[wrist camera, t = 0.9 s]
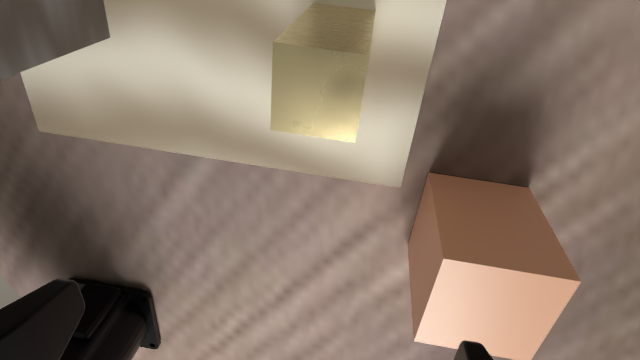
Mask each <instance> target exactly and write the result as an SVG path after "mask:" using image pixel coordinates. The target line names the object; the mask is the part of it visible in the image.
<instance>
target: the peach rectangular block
mask: <svg viewBox="0 0 640 360" xmlns="http://www.w3.org/2000/svg"><path fill="white" fill-rule="evenodd" d="M408 258H409V274H410V289H411V304H412V319H413V334H414V341H416V342H421V343H427V344H432V345H438V346H443V347H449V348H454V349H458V348H459V345H460V343H461V342H462V341H463V340H466V341H473V342H479V343H481V344H482V345H483V346H484V347H485V348H486V350H487V351H488V353H489V354H490V355H492V356H498V357H503V358H509V359H514V360H531V359H532V357H533V356H534V354H535V353H536V351H537V350H538V348H539V347H540V345H541V343H542V342H543V340H544V339H545V337H546V336H547V334H548V332H549V331H550V329H551V328H552V326H553V325H554V323H555V322H556V320H557V318H558V317H559V315H560V314H561V312H562V311H563V309H564V307H565V306H566V304H567V303H568V301H569V300H570V298H571V297H572V295H573V293H574V292H575V290H576V289H577V287H578V286H579V284H580V283H581V281H580V279H579V277H578V275H577V273H576V272H575V270H574V268H573V266H572V264H571V263H570V261H569V259H568V257H567V255H566V254H565V252H564V250H563V248H562V246H561V245H560V243H559V241H558V239H557V237H556V236H555V234H554V232H553V230H552V228H551V227H550V225H549V223H548V221H547V219H546V218H545V216H544V214H543V212H542V210H541V209H540V207H539V205H538V203H537V201H536V200H535V198H534V196H533V194H532V192H531V190H530V189H529V188H527V187H520V186H514V185H507V184H501V183H494V182H488V181H481V180H475V179H468V178H461V177H455V176H448V175H442V174H435V173H428V176H427V180H426V183H425V187H424V190H423V194H422V197H421V201H420V204H419V208H418V211H417V215H416V219H415V222H414V226H413V229H412V233H411V236H410V240H409V243H408Z"/></svg>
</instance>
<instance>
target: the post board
mask: <svg viewBox="0 0 640 360" xmlns="http://www.w3.org/2000/svg"><path fill="white" fill-rule="evenodd" d="M446 1H447V0H0V80H1V79H4V78H7V77H9V76H12V75H14V74H17V73H21V76H22V79H23V83H24V86H25V89H26V92H27V95H28V98H29V102H30V105H31V108H32V111H33V114H34V117H35V120H36V124H37V127H38V130H39V131H40V132H47V133H53V134H59V135H66V136H72V137H79V138H85V139H91V140H98V141H104V142H110V143H117V144H123V145H130V146H136V147H142V148H149V149H155V150H161V151H168V152H174V153H181V154H187V155H193V156H200V157H206V158H212V159H219V160H225V161H232V162H238V163H244V164H251V165H257V166H263V167H270V168H276V169H283V170H289V171H295V172H302V173H308V174H314V175H321V176H327V177H334V178H340V179H346V180H353V181H359V182H366V183H372V184H378V185H385V186H391V187H397V188H401V184H402V179H403V175H404V171H405V167H406V163H407V159H408V155H409V151H410V147H411V143H412V139H413V135H414V131H415V127H416V123H417V119H418V114H419V110H420V106H421V102H422V98H423V94H424V90H425V86H426V82H427V78H428V74H429V70H430V66H431V62H432V58H433V53H434V49H435V45H436V41H437V37H438V33H439V29H440V25H441V21H442V17H443V13H444V9H445V5H446ZM313 3H319V4H327V5H335V6H343V7H351V8H359V9H367V10H375V11H376V13H375V20H374V27H373V34H372V41H371V48H370V55H369V62H368V68H367V74H366V80H365V86H364V93H363V99H362V105H361V111H360V118H359V124H358V130H357V136H356V143H353V142H346V141H339V140H333V139H326V138H319V137H313V136H306V135H299V134H293V133H286V132H279V131H273V130H270V121H271V87H272V54H273V42H274V41H275V40H276V39H277V38H278V37H279V36H280V35H281V34H282V33H283V32H284V31H285V30H286V29H287V28H288V27H289V26H290V25H291V24H292V23H293V22H294V21H295V20H296V19H297V18H298V17H299V16H300V15H301V14H302V13H303V12H304V11H305V10H306V9H308V8H309V7H310V6H311V5H312V4H313Z"/></svg>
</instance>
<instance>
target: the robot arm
mask: <svg viewBox="0 0 640 360" xmlns="http://www.w3.org/2000/svg"><path fill="white" fill-rule="evenodd" d="M160 344H161V341H160V336H159V331H158V326H157V321H156V316H155V311H154V306H153V301H152V296H151V294H150V293H149V292H147V291H144V290H138V289H133V288H127V287H122V286H116V285H111V284H105V283H100V282H94V281H89V280H83V279H78V278H70V279H69V280H68V279H56V280H53V281H51V282H49V283H48V284H46V285H44V286H42V287H40V288H38V289H37V290H35V291H33V292H31V293H29V294H27V295H26V296H24V297H22V298H20V299H18V300H16V301H15V302H13V303H11V304H9V305H7V306H5V307H3V308H2V309H0V360H132V358H133V357H134V355H135V353H136V352H137V350H138V348H139V347H145V348H150V349H157V348H158V347H159V345H160ZM454 360H493V359H492V357H491V356H490V354H489V353H488V351H487V350H486V348H485V347H484V346H483V345H482V344H481V343H479V342H473V341H466V340H463V341H462V342H461V343H460V345H459V348H458V350H457V353H456V355H455V358H454Z"/></svg>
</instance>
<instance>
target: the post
mask: <svg viewBox="0 0 640 360" xmlns="http://www.w3.org/2000/svg"><path fill="white" fill-rule="evenodd" d="M375 13H376V11H375V10H367V9H359V8H351V7H343V6H335V5H327V4H319V3H313V4H312V5H311V6H310V7H309V8H308V9H306V10H305V11H304V12H303V13H302V14H301V15H300V16H299V17H298V18H297V19H296V20H295V21H294V22H293V23H292V24H291V25H290V26H289V27H288V28H287V29H286V30H285V31H284V32H283V33H282V34H281V35H280V36H279V37H278V38H277V39H276V40H275V41H274V42H273V54H272V87H271V121H270V130H273V131H279V132H286V133H293V134H299V135H306V136H313V137H319V138H326V139H333V140H339V141H346V142H353V143H356V136H357V130H358V124H359V118H360V111H361V105H362V99H363V93H364V86H365V80H366V74H367V68H368V62H369V55H370V48H371V41H372V34H373V27H374V20H375Z"/></svg>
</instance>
